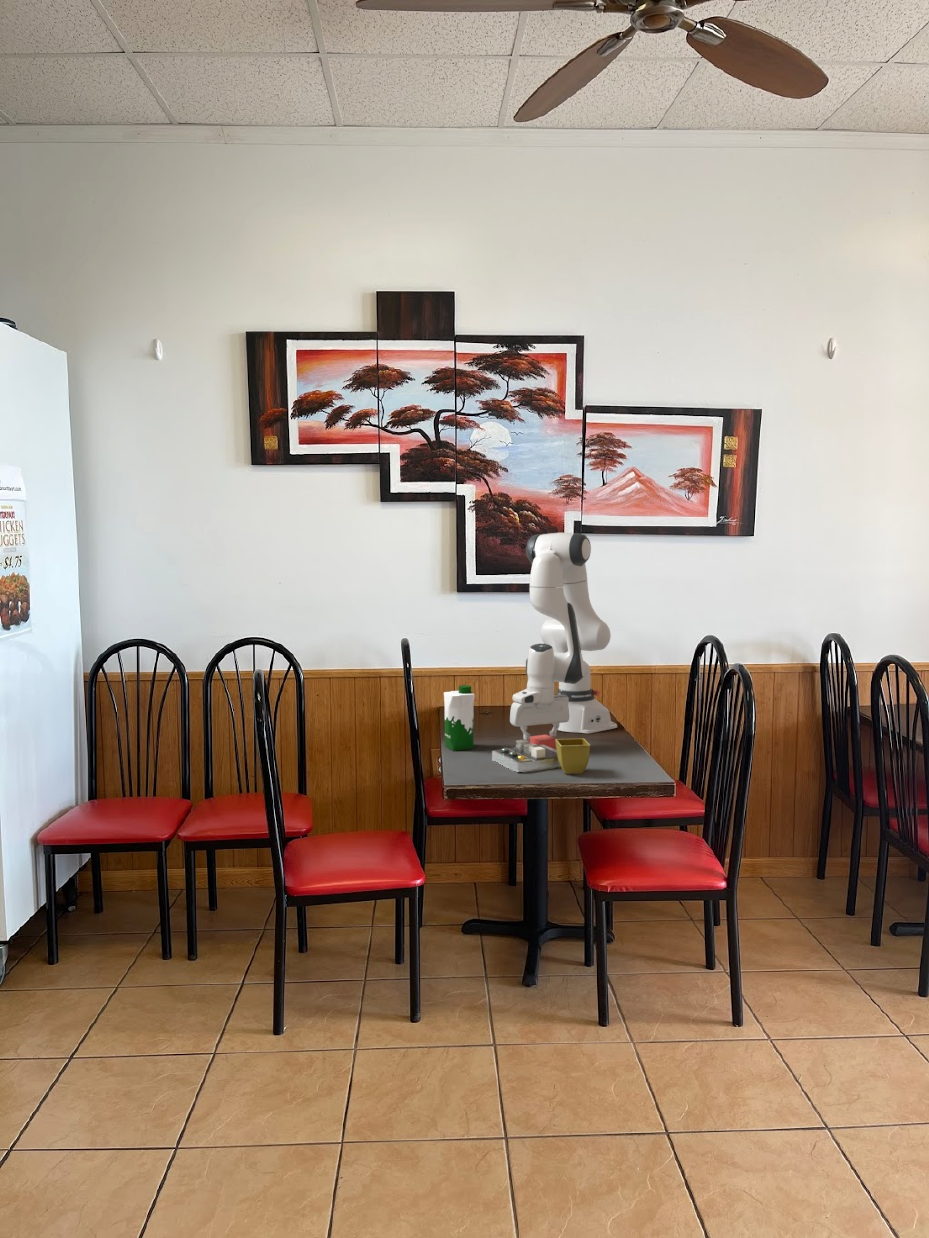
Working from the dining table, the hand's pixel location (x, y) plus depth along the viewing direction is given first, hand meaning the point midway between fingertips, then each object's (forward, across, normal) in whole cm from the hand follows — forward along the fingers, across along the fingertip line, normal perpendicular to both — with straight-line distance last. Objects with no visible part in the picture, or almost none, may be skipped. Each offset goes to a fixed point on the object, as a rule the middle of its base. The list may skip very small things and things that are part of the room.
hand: (539, 737), depth 292 cm
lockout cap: (+4, -1, 0) cm, 4 cm away
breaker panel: (+4, +10, +13) cm, 17 cm away
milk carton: (+4, +22, -14) cm, 26 cm away
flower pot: (+4, +4, +27) cm, 28 cm away
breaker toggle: (+1, +11, +18) cm, 21 cm away
